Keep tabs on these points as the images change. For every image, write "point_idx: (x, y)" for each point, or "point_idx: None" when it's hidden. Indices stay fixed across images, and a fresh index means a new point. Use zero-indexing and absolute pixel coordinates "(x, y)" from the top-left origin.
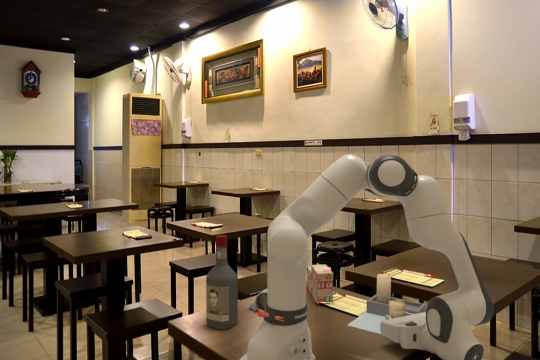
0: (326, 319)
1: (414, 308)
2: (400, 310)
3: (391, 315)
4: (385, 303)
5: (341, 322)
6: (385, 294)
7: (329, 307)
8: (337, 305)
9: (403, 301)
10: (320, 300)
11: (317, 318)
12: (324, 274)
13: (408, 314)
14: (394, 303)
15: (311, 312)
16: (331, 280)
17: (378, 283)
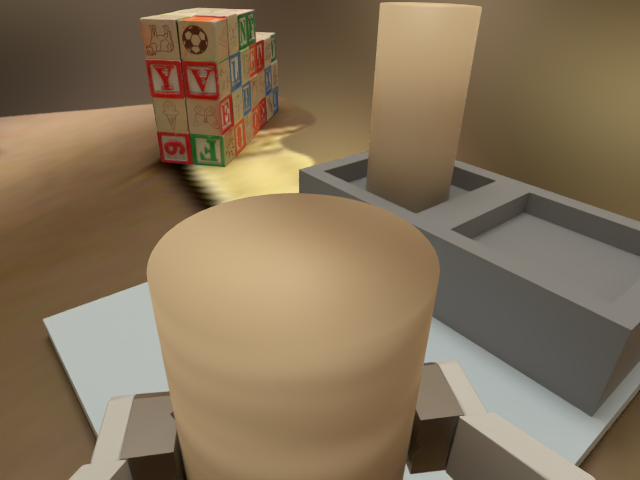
0: (56, 244)
1: (602, 265)
2: (270, 434)
3: (173, 428)
4: (404, 200)
5: (95, 278)
6: (411, 141)
7: (184, 181)
8: (232, 177)
9: (536, 201)
10: (173, 148)
11: (27, 231)
12: (173, 26)
13: (476, 439)
14: (217, 265)
15: (66, 195)
16: (210, 60)
17: (378, 61)
